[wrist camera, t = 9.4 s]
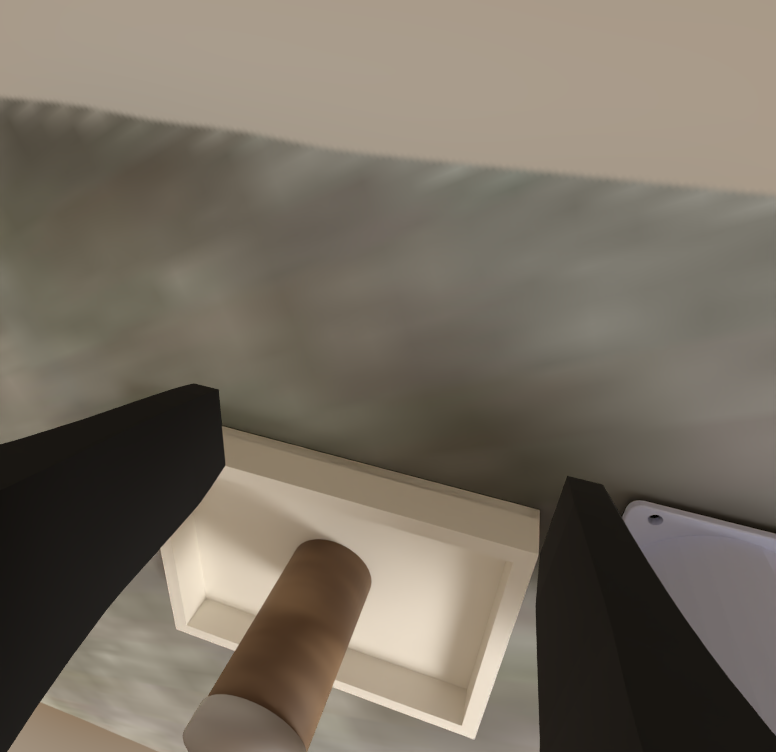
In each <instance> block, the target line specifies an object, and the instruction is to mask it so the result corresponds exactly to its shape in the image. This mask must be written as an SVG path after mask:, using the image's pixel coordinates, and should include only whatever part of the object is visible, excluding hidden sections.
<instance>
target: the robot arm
mask: <svg viewBox="0 0 776 752" xmlns="http://www.w3.org/2000/svg"><path fill="white" fill-rule="evenodd" d="M225 465H226V464H225V453H224V443H223V432H222V421H221V411H220V400H219V390H218V389H214V388H210V387H206V386H202V385H198V384H190V385H186V386H182V387H178V388H175V389H172V390H168V391H165V392H162V393H159V394H156V395H153V396H150V397H147V398H144V399H141V400H138V401H135V402H133V403H130V404H127V405H124V406H121V407H118V408H115V409H112V410H109V411H106V412H103V413H100V414H97V415H95V416H92V417H89V418H86V419H83V420H80V421H76V422H73V423H70V424H67V425H64V426H60V427H57V428H54V429H51V430H48V431H44V432H41V433H38V434H35V435H32V436H28V437H25V438H22V439H18V440H15V441H11V442H8V443H4V444H0V752H7V751H8V750H9V748H10V747H11V745H12V743H13V742H14V740H15V739H16V737H17V736H18V734H19V733H20V731H21V730H22V728H23V727H24V725H25V724H26V722H27V720H28V719H29V718H30V716H31V715H32V713H33V711H34V710H35V708H36V707H37V705H38V704H39V703H40V701H41V700H42V698H43V697H44V696H45V694H46V693H47V691H48V690H49V688H50V687H51V686H52V684H53V683H54V681H55V680H56V678H57V677H58V676H59V674H60V673H61V671H62V670H63V668H64V667H65V666H66V664H67V663H68V661H69V660H70V658H71V657H72V656H73V654H74V653H75V652H76V650H77V649H78V648H79V646H80V645H81V643H82V642H83V641H84V639H85V638H86V637H87V635H88V634H89V633H90V631H91V630H92V629H93V627H94V626H95V625H96V623H97V622H98V621H99V619H100V618H101V617H102V615H103V614H104V612H105V611H106V610H107V609H108V607H109V606H110V605H111V604H112V603H113V601H114V600H115V599H116V598H117V597H118V595H119V594H120V593H121V592H122V591H123V589H124V588H125V587H126V586H127V585H128V584H129V583H130V582H131V580H132V579H133V578H134V577H135V576H136V575H137V574H138V573H139V572H140V570H141V569H142V568H143V567H144V566H145V565H146V564H147V563H148V561H149V560H150V559H151V558H152V557H153V556H154V555H155V554H156V553H157V551H158V550H159V549H160V548H161V547H162V546H163V545H164V544H165V543H166V541H167V540H168V539H169V538H170V537H171V536H172V535H173V534H174V533H175V531H176V530H177V529H178V528H179V527H180V526H181V525H182V523H183V522H184V521H185V520H186V519H187V518H188V517H189V515H190V514H191V513H192V512H193V511H194V510H195V509H196V507H197V506H198V505H199V504H200V502H201V501H202V500H203V498H204V497H205V495H206V494H207V493H208V491H209V490H210V488H211V487H212V485H213V484H214V482H215V481H216V479H217V478H218V476H219V475H220V473H221V471H222V470H223V468H224V467H225ZM651 515H659V517H657V518H650V517H649V516H651ZM536 636H537V667H538V697H539V726H540V752H776V534H775V533H771V532H767V531H763V530H759V529H755V528H751V527H747V526H743V525H739V524H735V523H731V522H727V521H723V520H719V519H715V518H711V517H707V516H703V515H699V514H695V513H691V512H687V511H683V510H679V509H675V508H671V507H667V506H663V505H659V504H655V503H651V502H647V501H641V500H638V501H633V502H631V503H629V504H628V506H627V507H626V509H625V512H624V514H623V516H622V517H621V515H620V513H619V512H618V510H617V508H616V506H615V505H614V503H613V501H612V499H611V498H610V496H609V494H608V493H607V491H606V489H605V488H604V486H603V485H601V484H597V483H593V482H589V481H585V480H581V479H577V478H573V477H569V476H567V479H566V482H565V485H564V487H563V490H562V493H561V496H560V499H559V502H558V505H557V507H556V510H555V513H554V516H553V519H552V522H551V525H550V527H549V530H548V533H547V536H546V539H545V542H544V545H543V547H542V550H541V553H540V561H539V572H538V583H537V596H536Z"/></svg>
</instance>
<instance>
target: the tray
mask: <svg viewBox="0 0 776 752" xmlns="http://www.w3.org/2000/svg"><path fill="white" fill-rule="evenodd" d="M222 432H223V443H224V453H225V464H226V465H225V467H224V468H223V470H222V471H221V473H220V475H219V476H218V478H217V479H216V481H215V482H214V484H213V485H212V487H211V488H210V490H209V491H208V493H207V494H206V495H205V497H204V498H203V500H202V501H201V502H200V504H199V505H198V506H197V507H196V509H195V510H194V511H193V512H192V513H191V514H190V515H189V517H188V518H187V519H186V520H185V521H184V522H183V523H182V525H181V526H180V527H179V528H178V529H177V530H176V531H175V533H174V534H173V535H172V536H171V537H170V538H169V539H168V540H167V541H166V543H165V544H164V545H163V546H162V547H161V548H160V550H161V555H162V560H163V565H164V570H165V575H166V580H167V585H168V590H169V595H170V600H171V605H172V610H173V615H174V620H175V625H176V629H177V630H180V631H183V632H185V633H188V634H191V635H193V636H196V637H199V638H202V639H204V640H207V641H210V642H212V643H215V644H218V645H220V646H223V647H226V648H229V649H231V650H234V651H235V650H236V649H237V647H238V645H239V644H240V642H241V640H242V639H243V637H244V635H245V634H246V632H247V630H248V629H249V627H250V625H251V624H252V622H253V620H254V619H255V617H256V615H257V614H258V612H259V610H260V609H261V607H262V605H263V604H264V602H265V600H266V599H267V597H268V595H269V594H270V592H271V590H272V589H273V587H274V585H275V584H276V582H277V580H278V579H279V577H280V575H281V574H282V572H283V570H284V569H285V567H286V565H287V564H288V562H289V560H290V559H291V557H292V555H293V554H294V552H295V550H296V549H297V547H298V546H299V545H300V544H302V543H304V542H306V541H309V540H313V539H323V540H329V541H333V542H336V543H339V544H341V545H343V546H345V547H347V548H349V549H350V550H352V551H353V552H354V553H356V554H357V555H358V556H359V557H360V558H361V559H362V560H363V562H364V563H365V564H366V566H367V568H368V569H369V572H370V575H371V581H372V583H371V588H370V591H369V593H368V596H367V599H366V601H365V604H364V606H363V609H362V611H361V614H360V617H359V619H358V622H357V624H356V627H355V630H354V632H353V635H352V637H351V640H350V642H349V645H348V648H347V650H346V653H345V655H344V658H343V660H342V663H341V666H340V668H339V671H338V673H337V676H336V679H335V681H334V684H333V686H332V687H334V688H337V689H339V690H342V691H345V692H347V693H350V694H353V695H356V696H358V697H361V698H364V699H366V700H369V701H372V702H374V703H377V704H380V705H383V706H385V707H388V708H391V709H393V710H396V711H399V712H401V713H404V714H407V715H410V716H412V717H415V718H418V719H420V720H423V721H426V722H428V723H431V724H434V725H437V726H439V727H442V728H445V729H447V730H450V731H453V732H455V733H458V734H461V735H464V736H466V737H469V738H472V739H475V736H476V733H477V731H478V728H479V725H480V722H481V719H482V716H483V713H484V710H485V708H486V705H487V702H488V699H489V696H490V693H491V690H492V688H493V685H494V682H495V679H496V676H497V673H498V670H499V667H500V665H501V662H502V659H503V656H504V653H505V650H506V647H507V644H508V642H509V639H510V636H511V633H512V630H513V627H514V624H515V621H516V619H517V616H518V613H519V610H520V607H521V604H522V601H523V598H524V596H525V593H526V590H527V587H528V584H529V581H530V578H531V576H532V573H533V570H534V567H535V564H536V561H537V558H538V555H539V524H540V510H538V509H534V508H530V507H526V506H522V505H519V504H515V503H511V502H507V501H504V500H500V499H496V498H492V497H488V496H485V495H481V494H477V493H473V492H470V491H466V490H462V489H458V488H454V487H451V486H447V485H443V484H439V483H436V482H432V481H428V480H424V479H420V478H417V477H413V476H409V475H405V474H402V473H398V472H394V471H390V470H386V469H383V468H379V467H375V466H371V465H368V464H364V463H360V462H356V461H352V460H349V459H345V458H341V457H337V456H334V455H330V454H326V453H322V452H318V451H315V450H311V449H307V448H303V447H300V446H296V445H292V444H288V443H284V442H281V441H277V440H273V439H269V438H265V437H262V436H258V435H254V434H250V433H247V432H243V431H239V430H235V429H231V428H228V427H224V426H222Z"/></svg>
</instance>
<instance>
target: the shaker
mask: <svg viewBox="0 0 776 752" xmlns="http://www.w3.org/2000/svg"><path fill="white" fill-rule="evenodd" d="M371 583H372V581H371V575H370V572H369V569H368V568H367V566H366V564H365V563H364V562H363V560H362V559H361V558H360V557H359V556H358V555H357V554H356V553H354V552H353V551H352V550H350V549H349V548H347V547H345V546H343V545H341V544H339V543H336V542H333V541H329V540H323V539H313V540H309V541H306V542H304V543H302V544H300V545H299V546H298V547H297V549H296V550H295V552H294V554H293V555H292V557H291V559H290V560H289V562H288V564H287V565H286V567H285V569H284V570H283V572H282V574H281V575H280V577H279V579H278V580H277V582H276V584H275V585H274V587H273V589H272V590H271V592H270V594H269V595H268V597H267V599H266V600H265V602H264V604H263V605H262V607H261V609H260V610H259V612H258V614H257V615H256V617H255V619H254V620H253V622H252V624H251V625H250V627H249V629H248V630H247V632H246V634H245V635H244V637H243V639H242V640H241V642H240V644H239V645H238V647H237V649H236V650H235V652H234V654H233V655H232V657H231V659H230V660H229V662H228V664H227V665H226V667H225V669H224V670H223V672H222V674H221V675H220V677H219V679H218V680H217V682H216V683H215V685H214V687H213V688H212V690H211V692H210V693H209V695H208V697H206V698H205V699H203V700H202V702H201V703H200V705H199V707H198V708H197V710H196V712H195V713H194V715H193V717H192V718H191V720H190V722H189V723H188V725H187V727H186V728H185V730H184V732H183V741H184V744H185V746H186V748H187V750H188V752H307V751H308V748H309V746H310V743H311V740H312V738H313V735H314V733H315V730H316V728H317V725H318V722H319V720H320V717H321V715H322V712H323V709H324V707H325V704H326V702H327V699H328V697H329V694H330V691H331V689H332V686H333V684H334V681H335V679H336V676H337V673H338V671H339V668H340V666H341V663H342V660H343V658H344V655H345V653H346V650H347V648H348V645H349V642H350V640H351V637H352V635H353V632H354V630H355V627H356V624H357V622H358V619H359V617H360V614H361V611H362V609H363V606H364V604H365V601H366V599H367V596H368V593H369V591H370V588H371Z"/></svg>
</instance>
